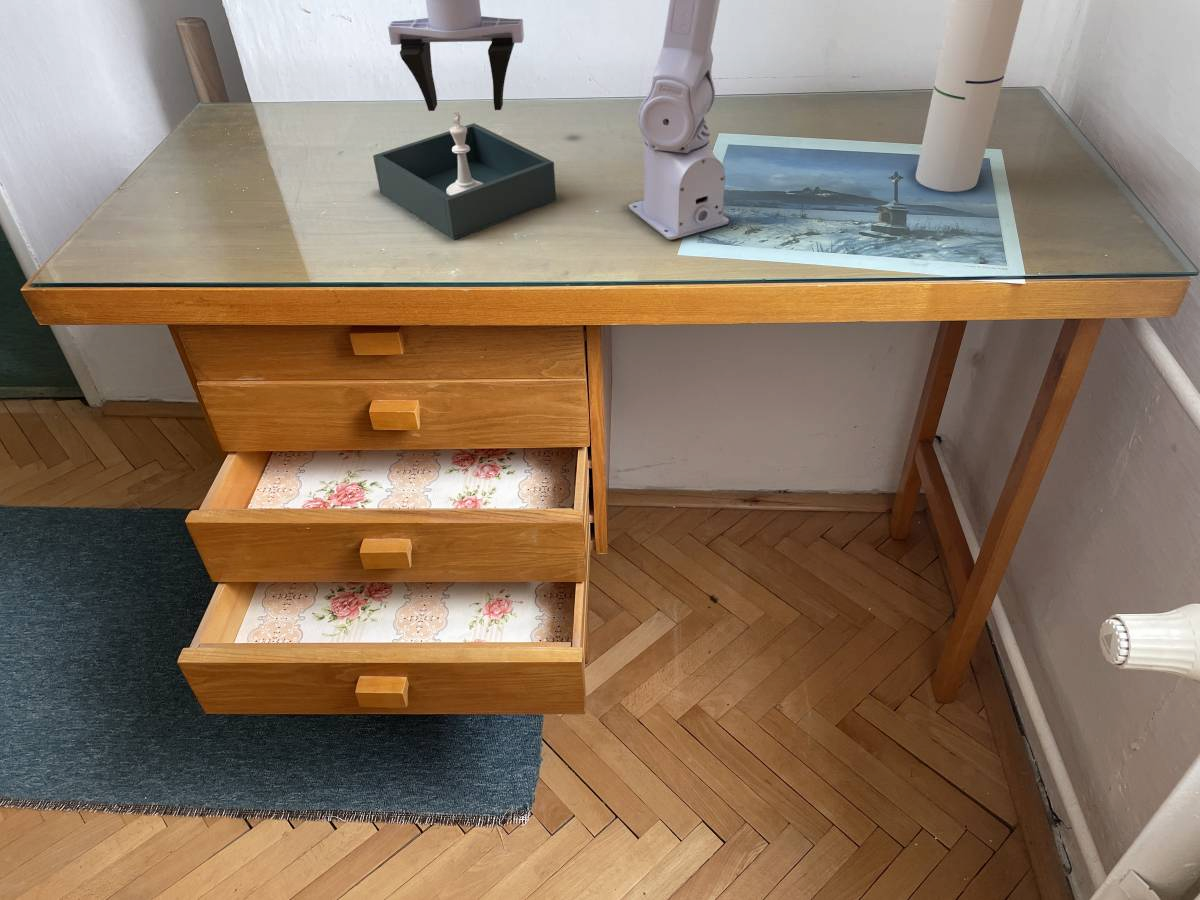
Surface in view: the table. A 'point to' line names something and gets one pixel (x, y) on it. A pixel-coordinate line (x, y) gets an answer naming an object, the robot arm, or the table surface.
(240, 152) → the table surface
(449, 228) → the dark green open box
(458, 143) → the chess piece
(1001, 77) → the cylindrical container
